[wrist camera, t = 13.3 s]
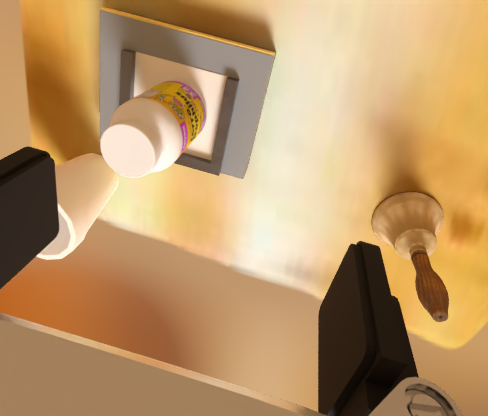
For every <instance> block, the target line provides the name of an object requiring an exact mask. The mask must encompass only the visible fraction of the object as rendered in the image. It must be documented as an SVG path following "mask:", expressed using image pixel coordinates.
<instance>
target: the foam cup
mask: <svg viewBox="0 0 488 416" xmlns="http://www.w3.org/2000/svg"><path fill="white" fill-rule="evenodd" d="M55 175H56V189H57V202H58V216H59V232H58V235H57V237H56V238H55V239H54V240H53V241H52V242H51V243H50V244H49V245H48V246H47V247H45V248H44V249H43V250H42V251H41V252H40V253H39V254H38V255H37V256H36V257H39V258H43V259H46V260H49V259H62V258H63V257H65V256H66V255H68V254H69V253H70V252H72V251H73V250H74V249H75V248H76V247H77V246H78V244H80V243H81V242H82V241H83V240H84V238H85V234H86V232H87V231H88V230H89V228H90V227H91V225H92V224H93V222H94V221H95V219H96V218H97V217H98V215H99V214H100V212H101V211H102V209H103V208H104V206H105V205H106V203H107V202H108V201H109V199H110V198H111V196H112V195H113V193H114V192H115V190H116V189H117V186H118V183H119V177H118V173H117V172H115V171H114V170H113V169H112V168H111V167H110V166H109V165H108V164H107V163H106V161H105V159H104V158H103V156H102V155H98V154H95V153H89V154H83V155H81V156H78V157H76V158H73V159H71V160H68V161H66V162H64V163H61V164H59V165H56V166H55Z"/></svg>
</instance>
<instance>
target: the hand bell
mask: <svg viewBox="0 0 488 416" xmlns="http://www.w3.org/2000/svg"><path fill="white" fill-rule="evenodd" d="M442 224H443V211H442V208H441V207H440V205H439V204H438V202H437V201H436V200H434V199H433V198H432V197H430V196H428V195H426V194H423V193H418V192H404V193H399V194H396V195H394V196H391V197H389V198H387V199H386V200H384V201H383V202H382V203H381V204H380V205H379V206H378V207H377V209H376V210H375V212H374V214H373V217H372V228H373V231H374V233H375V235H376V236H377V238H378V239H379V240H381V241H382V242H383V243H385V244H387V245H389V246H391V247H394V248H395V250H396V252H397V253H398V255H399V256H401V257H402V258H404V259H407V260H412V262H413V265H414V267H415V269H416V281H415V283H416V291H417V295H418V298H419V300H420V302H421V304H422V305H423V307H424V308H425V309H426V310H427V311H428V312H429V313H430V315H431V316H432V318H433V319H434V320H435V321H437V322H443V321H446V320H447V319H448V306H449V298H448V292H447V290H446V287H445V285H444V283H443V281H442V280H441V278H440V277H439V276H438V275H437V274H436V273H435V272H434V271H433V269H432V267H431V264H430V261H429V258H428V257H429V256H430V255H431V254H432V253H433V252H434V251H435V249H436V246H437V240H436V235H437V234H438V232H439V231H440V229H441V227H442Z"/></svg>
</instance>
